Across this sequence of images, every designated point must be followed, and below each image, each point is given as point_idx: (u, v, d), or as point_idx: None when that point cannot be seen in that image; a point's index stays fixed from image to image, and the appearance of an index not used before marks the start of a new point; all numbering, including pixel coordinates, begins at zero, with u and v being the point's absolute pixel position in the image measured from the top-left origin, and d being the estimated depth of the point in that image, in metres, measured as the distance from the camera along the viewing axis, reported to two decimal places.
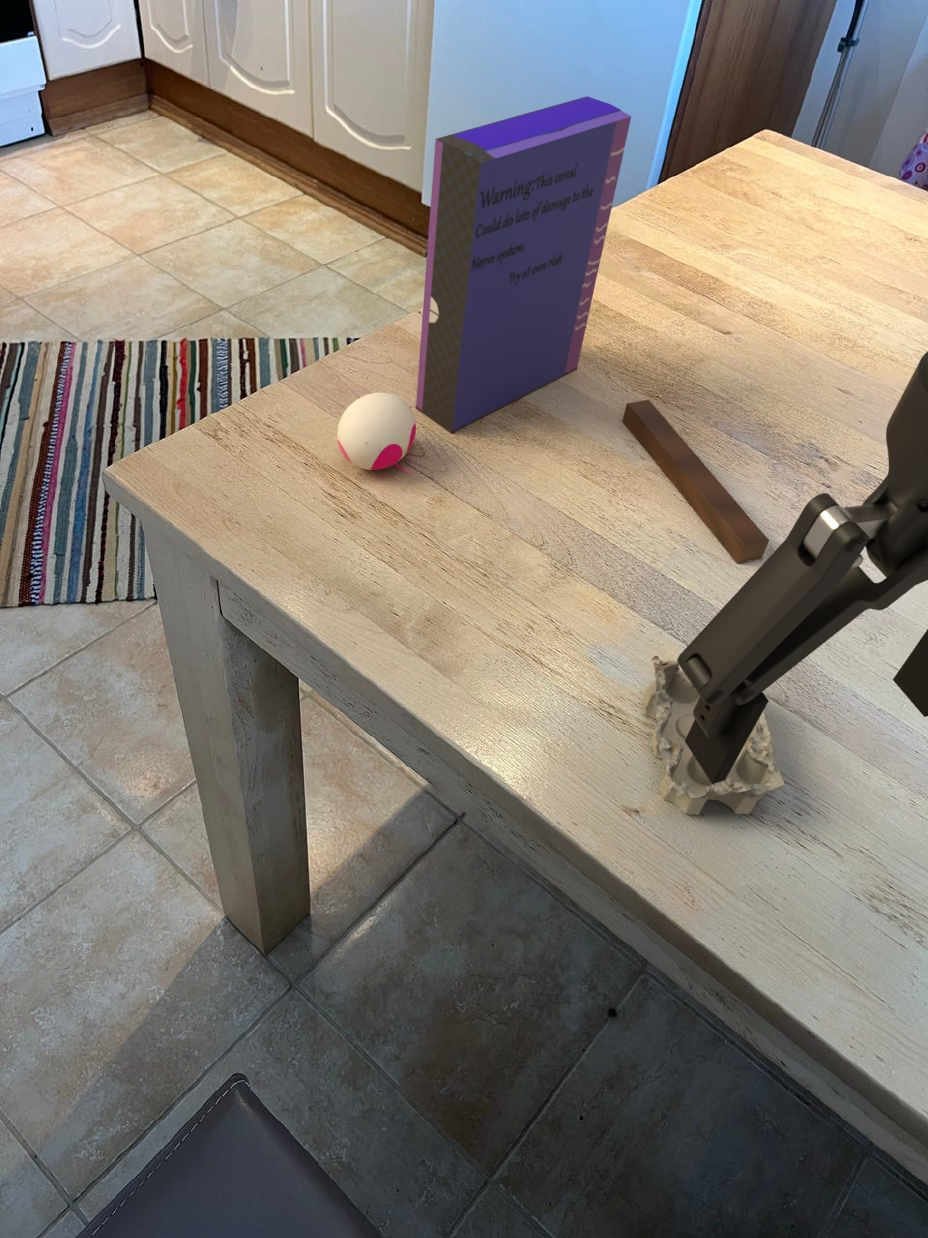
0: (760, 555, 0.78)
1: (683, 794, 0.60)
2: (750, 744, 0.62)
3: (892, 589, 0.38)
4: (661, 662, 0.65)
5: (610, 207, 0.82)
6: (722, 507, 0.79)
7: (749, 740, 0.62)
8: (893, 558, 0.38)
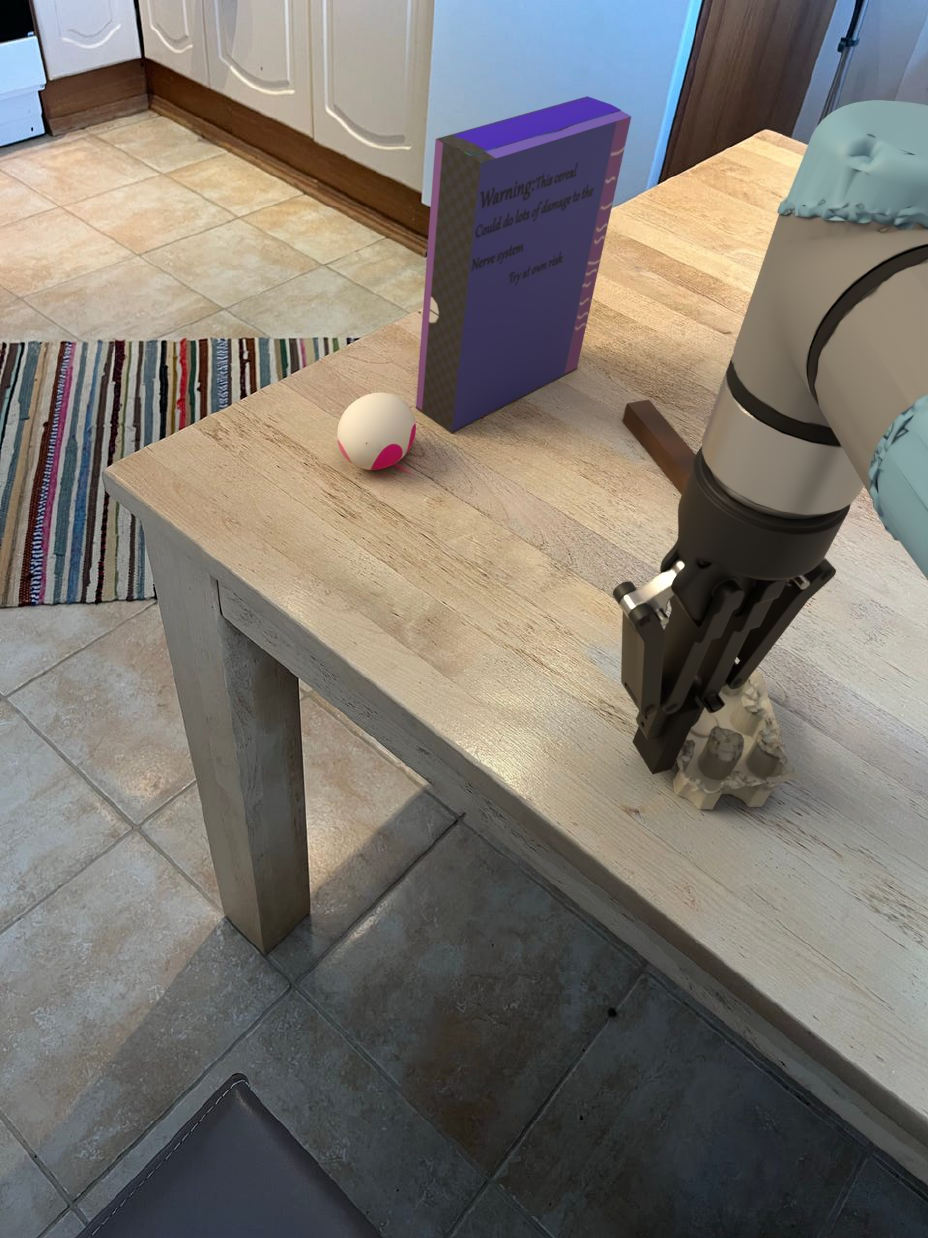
0: None
1: (697, 790, 0.60)
2: (760, 737, 0.62)
3: (708, 632, 0.50)
4: None
5: (610, 207, 0.82)
6: None
7: (759, 733, 0.62)
8: (687, 603, 0.48)
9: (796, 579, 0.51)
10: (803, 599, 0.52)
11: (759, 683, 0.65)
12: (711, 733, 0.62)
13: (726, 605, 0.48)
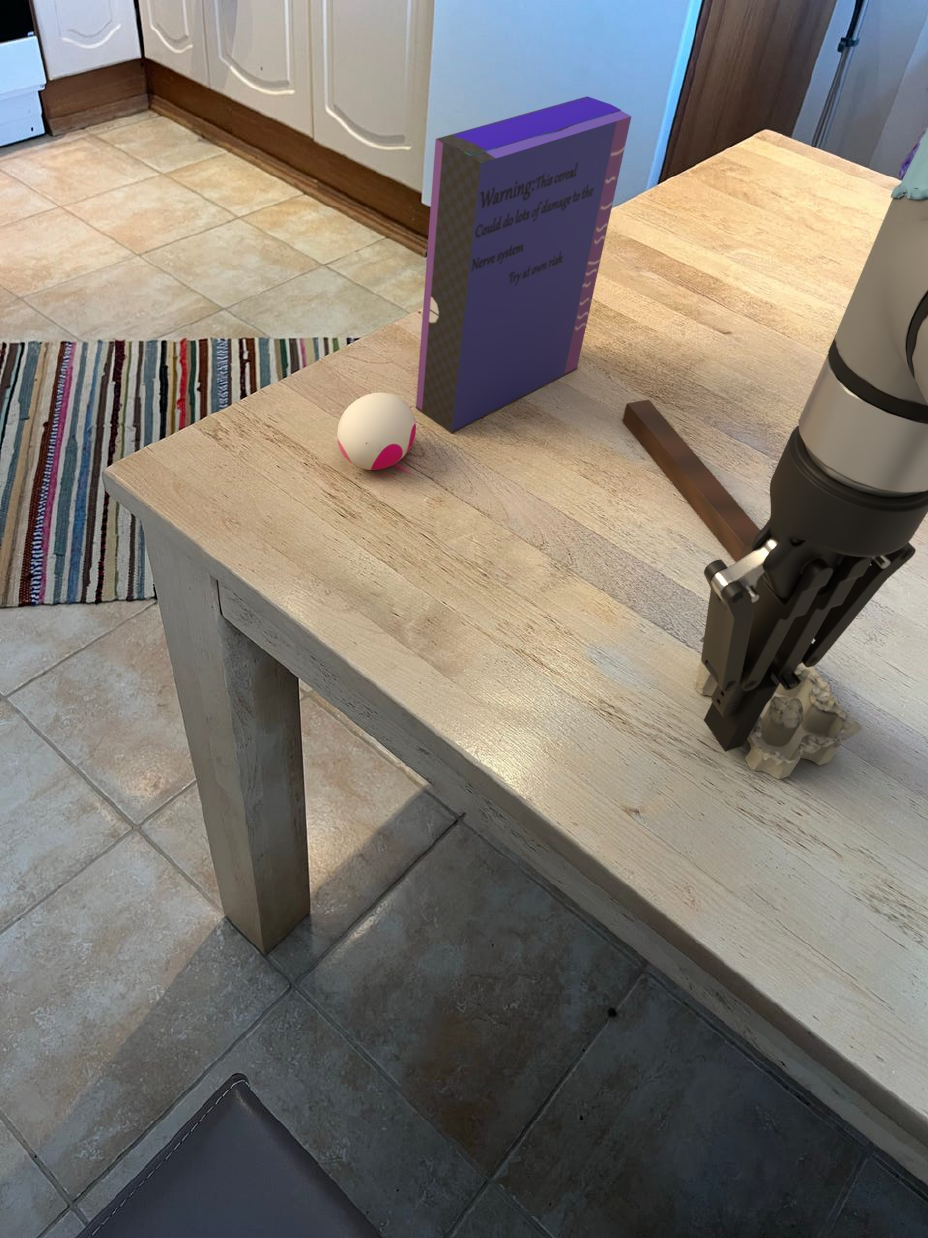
0: None
1: (775, 761, 0.62)
2: (813, 697, 0.65)
3: (795, 608, 0.51)
4: None
5: (610, 207, 0.82)
6: (722, 507, 0.79)
7: (811, 694, 0.65)
8: (776, 580, 0.50)
9: (877, 559, 0.53)
10: (882, 578, 0.54)
11: None
12: (772, 704, 0.64)
13: (815, 582, 0.50)
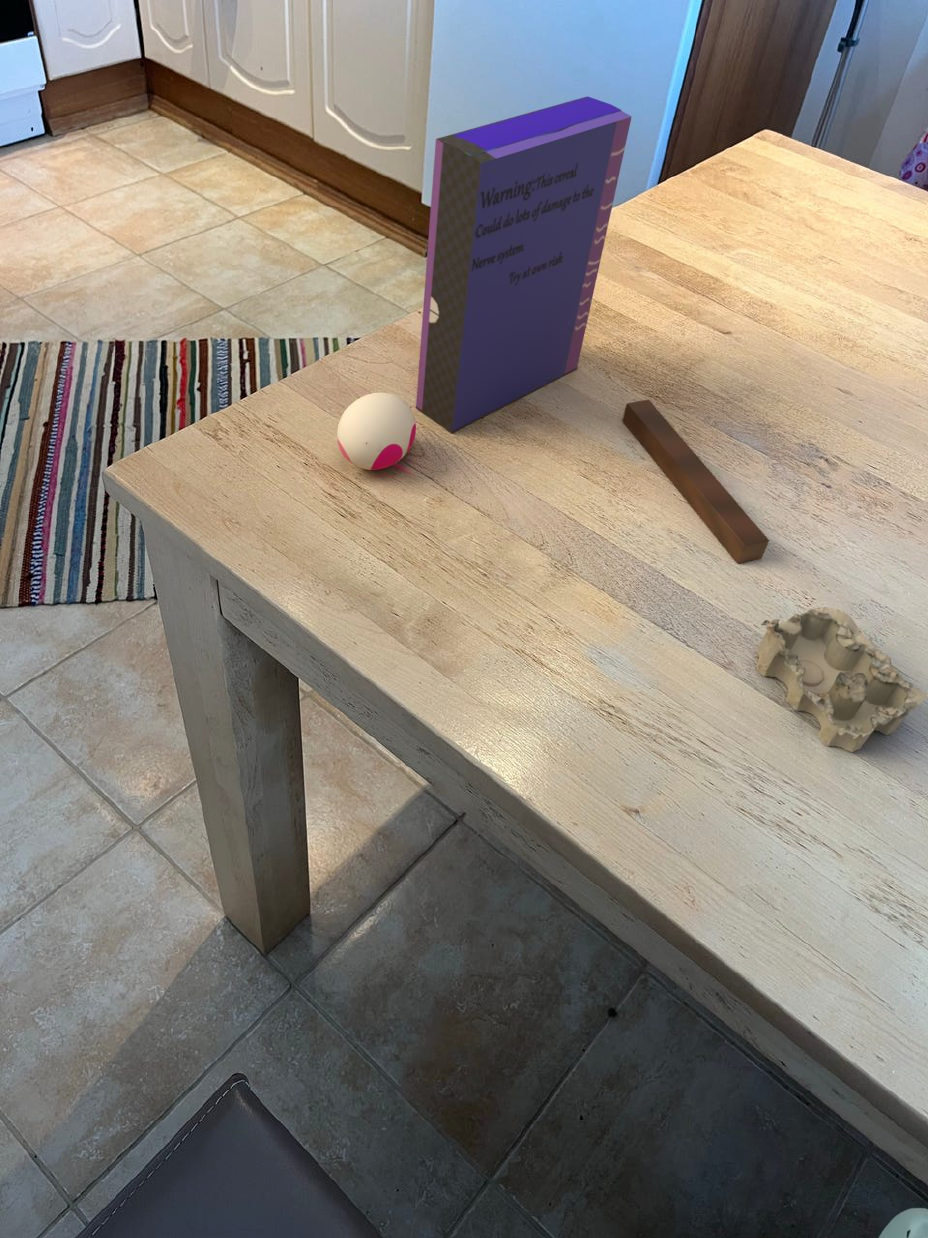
0: (760, 555, 0.78)
1: (848, 735, 0.64)
2: (874, 670, 0.67)
3: None
4: None
5: (610, 207, 0.82)
6: (722, 507, 0.79)
7: (872, 667, 0.67)
8: None
9: None
10: None
11: (847, 621, 0.70)
12: (838, 680, 0.66)
13: None
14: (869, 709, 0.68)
